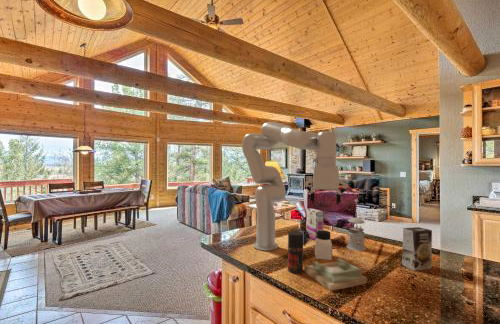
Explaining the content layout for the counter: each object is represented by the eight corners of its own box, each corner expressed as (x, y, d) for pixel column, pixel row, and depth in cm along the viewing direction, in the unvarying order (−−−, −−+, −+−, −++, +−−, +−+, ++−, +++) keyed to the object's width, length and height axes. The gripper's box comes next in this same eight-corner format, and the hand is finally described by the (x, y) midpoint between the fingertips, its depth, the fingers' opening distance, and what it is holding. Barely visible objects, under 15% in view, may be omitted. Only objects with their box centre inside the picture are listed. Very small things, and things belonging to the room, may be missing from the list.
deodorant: (286, 267, 105) (286, 231, 105) (300, 267, 105) (300, 231, 105) (289, 273, 99) (290, 235, 99) (304, 273, 99) (305, 235, 99)
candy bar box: (323, 240, 142) (324, 211, 142) (316, 241, 140) (316, 211, 140) (313, 235, 152) (313, 208, 152) (305, 235, 151) (306, 208, 151)
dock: (304, 271, 101) (304, 258, 101) (337, 266, 107) (337, 254, 107) (330, 290, 86) (330, 276, 86) (366, 283, 92) (366, 269, 92)
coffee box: (415, 271, 103) (415, 231, 103) (401, 265, 109) (402, 227, 109) (432, 269, 105) (432, 230, 105) (418, 263, 112) (418, 226, 112)
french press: (362, 244, 135) (363, 198, 135) (370, 252, 124) (371, 201, 124) (343, 244, 136) (344, 197, 136) (349, 251, 125) (350, 200, 125)
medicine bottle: (332, 260, 113) (332, 233, 113) (315, 259, 114) (316, 232, 114) (330, 254, 120) (330, 229, 120) (314, 253, 121) (315, 228, 121)
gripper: (304, 161, 103) (303, 203, 103) (349, 162, 99) (348, 206, 99) (305, 161, 110) (304, 200, 110) (347, 162, 106) (346, 203, 106)
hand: (325, 203), depth 105 cm, fingers open, 9 cm apart
